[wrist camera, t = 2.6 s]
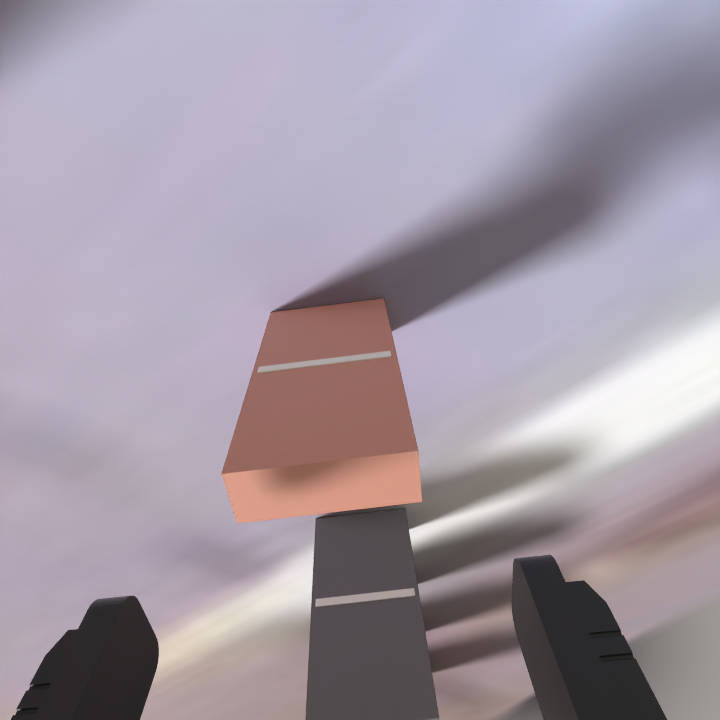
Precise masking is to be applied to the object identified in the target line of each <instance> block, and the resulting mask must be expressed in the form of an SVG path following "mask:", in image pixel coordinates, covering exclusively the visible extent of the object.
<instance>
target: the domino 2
mask: <svg viewBox="0 0 720 720" xmlns="http://www.w3.org/2000/svg"><path fill="white" fill-rule="evenodd" d="M306 720H439V713H438V707H437V701H436V695H435V689H434V682H433V676H432V670H431V664H430V658H429V652H428V646H427V639H426V633H425V627H424V621H423V615H422V609H421V602H420V596H419V590H418V584H417V578H416V572H415V566H414V559H413V553H412V547H411V541H410V535H409V529H408V522H407V516H406V510H405V508H402V509H393V510H384V511H376V512H367V513H359V514H350V515H341V516H333V517H324V518H316V527H315V546H314V566H313V585H312V605H311V624H310V644H309V663H308V683H307V702H306Z"/></svg>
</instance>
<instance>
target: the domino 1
mask: <svg viewBox="0 0 720 720" xmlns="http://www.w3.org/2000/svg"><path fill="white" fill-rule="evenodd" d="M222 477H223V480H224V484H225V487H226V490H227V493H228V496H229V499H230V502H231V505H232V508H233V511H234V514H235V518H236V521H237V523H245V522H253V521H262V520H271V519H279V518H288V517H296V516H305V515H314V514H322V513H331V512H340V511H348V510H357V509H365V508H374V507H383V506H391V505H400V504H408V503H417V502H422V492H421V480H420V467H419V454H418V448H417V443H416V439H415V434H414V430H413V425H412V421H411V416H410V412H409V407H408V403H407V399H406V394H405V390H404V385H403V381H402V376H401V372H400V367H399V363H398V358H397V354H396V350H395V345H394V341H393V336H392V332H391V327H390V323H389V318H388V314H387V310H386V305H385V301H384V298H381V299H373V300H365V301H357V302H349V303H341V304H333V305H325V306H317V307H309V308H301V309H293V310H285V311H277V312H271V313H270V317H269V320H268V323H267V326H266V330H265V333H264V336H263V340H262V343H261V346H260V349H259V353H258V356H257V359H256V362H255V366H254V369H253V372H252V376H251V379H250V382H249V385H248V389H247V392H246V395H245V399H244V402H243V405H242V408H241V412H240V415H239V418H238V421H237V425H236V428H235V431H234V435H233V438H232V441H231V444H230V448H229V451H228V454H227V458H226V461H225V464H224V467H223V471H222Z"/></svg>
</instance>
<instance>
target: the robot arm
mask: <svg viewBox="0 0 720 720" xmlns="http://www.w3.org/2000/svg"><path fill="white" fill-rule="evenodd" d="M512 614H513V620H514V626H515V630H516V634H517V637H518V641H519V644H520V647H521V650H522V653H523V656H524V659H525V663H526V666H527V669H528V672H529V675H530V678H531V681H532V685H533V688H534V691H535V694H536V697H537V700H538V703H539V706H540V710H541V713H542V716H543V719H544V720H667V718H666V717H665V715H664V713H663V711H662V709H661V707H660V705H659V703H658V701H657V699H656V697H655V695H654V693H653V692H652V690H651V688H650V686H649V684H648V682H647V680H646V678H645V676H644V674H643V672H642V670H641V668H640V667H639V665H638V663H637V661H636V659H634V657H633V654H632V651H631V649H630V647H629V645H628V643H627V641H626V639H625V637H624V635H622V634H621V630H620V628H619V626H618V624H617V622H616V620H615V618H614V616H613V614H612V612H611V610H610V608H609V607H608V605H607V603H606V602H605V601H604V600H603V599H602V598H601V597H600V596H599V595H598V594H597V593H596V592H595V591H594V590H593V589H592V588H591V587H590V586H589V585H588V584H587V583H586V582H585V581H574V582H565V580H564V578H563V576H562V574H561V571H560V569H559V567H558V565H557V563H556V561H555V559H554V558H553V557H552V556H551V555H543V556H534V557H524V558H515V559H514V562H513V584H512ZM158 656H159V647H158V641H157V638H156V635H155V633H154V631H153V629H152V627H151V625H150V623H149V621H148V619H147V617H146V615H145V613H144V611H143V609H142V607H141V605H140V603H139V601H138V599H137V598H136V597H135V596H124V597H115V598H105V599H98V600H96V601H94V602H93V603H92V604H91V606H90V607H89V609H88V610H87V612H86V614H85V616H84V618H83V620H82V622H81V624H80V626H79V628H78V629H76V630H68V631H67V632H66V633H65V634H64V636H63V637H62V638H61V639H60V640H59V641H58V642H57V643H56V644H55V646H54V647H53V648H52V649H51V650H50V651H49V652H48V653H47V654H46V656H45V657H44V659H43V661H42V663H41V665H40V666H39V668H38V670H37V672H36V674H35V676H34V678H33V679H32V681H31V683H30V689H29V690H28V691H26V692H25V694H24V696H23V698H22V700H21V702H20V704H19V705H18V707H17V713H16V715H13V716H12V718H11V720H140V718H141V715H142V712H143V708H144V705H145V702H146V699H147V696H148V693H149V690H150V687H151V684H152V681H153V678H154V675H155V672H156V669H157V664H158Z"/></svg>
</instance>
